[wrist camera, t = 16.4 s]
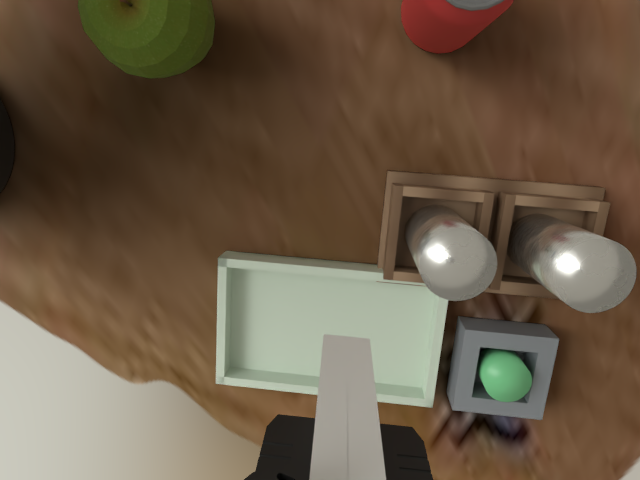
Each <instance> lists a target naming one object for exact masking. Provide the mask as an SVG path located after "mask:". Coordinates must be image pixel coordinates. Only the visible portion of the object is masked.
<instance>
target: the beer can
mask: <svg viewBox="0 0 640 480" xmlns="http://www.w3.org/2000/svg"><path fill="white" fill-rule="evenodd" d="M513 1H514V0H403V2H402V5H401V17H402V23H403V26H404V29H405V32H406V34H407V35H408V37H409V38H410V39H411V40H412V42H413V43H414V44H415V45H417V46H418V47H420V48H421V49H423V50H425V51H428V52H433V53H437V54H438V53H448V52H452V51H454V50H456V49H459V48H461V47H463V46H464V45H465V44H466V43H468V42H469V41H470V40H471V39H472V38H474V37H475V36H476V35H477V34H478V33H480V32H481V31H482V30H483V29H485V28H486V27H487V26H488V25H489V24H491V23H492V22H493V21H494V20H495V19H497V18H498V17H499V16H500V15H501V14H502V13H503V12H505V11H506V10H507V9H508V8H509V7H510V6H511V4H512V3H513Z"/></svg>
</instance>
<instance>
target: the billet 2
mask: <svg viewBox="0 0 640 480" xmlns="http://www.w3.org/2000/svg"><path fill="white" fill-rule="evenodd" d="M507 255H508V257H509V258H510V260H511V261H512V262H513V263H514V264H516V265H517V266H518V267H520V268H521V269H522V270H523V271H525V272H526V273H527V274H529V275H530V276H531V277H532V278H534V279H535V280H536V281H538V282H539V283H540V284H541V285H543V286H544V287H545V288H547V289H548V290H549V291H550V292H552V293H553V294H554V295H556V296H557V297H558V298H559V299H561V300H562V301H563V302H565V303H566V304H567V305H569V306H570V307H571V308H573V309H575V310H578V311H581V312H587V313H597V312H602V311H606V310H609V309H611V308H613V307H615V306H617V305H618V304H620V303H621V302H622V301H623V300H624V299H625V298H626V297H627V296H628V295H629V293H630V292H631V290H632V288H633V286H634V284H635V280H636V273H637V272H636V264H635V261H634V258H633V256H632V255H631V253H630V252H629V251H628V250H627V249H626V248H625V247H624V246H623V245H621V244H619V243H617V242H615V241H613V240H610V239H607V238H605V237H602V236H600V235H597V234H595V233H592V232H590V231H587V230H585V229H582V228H580V227H577V226H574V225H572V224H569V223H567V222H564V221H562V220H559V219H557V218H554V217H552V216H549V215H546V214H541V213H534V214H529V215H526V216H523V217H522V218H520V219H518V220H517V221H516V222H515V223H514V224H513V225H512V226H511V229H510V235H509V240H508V246H507Z"/></svg>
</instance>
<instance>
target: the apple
mask: <svg viewBox="0 0 640 480" xmlns="http://www.w3.org/2000/svg"><path fill="white" fill-rule="evenodd" d="M78 9H79V13H80V17H81V21H82V25H83V29H84V31H85V33H86V34H87V35H88V36H89V38H90V39H91V40H92V41H93V43H94V44H95V45H96V47H97V48H98V49H99V50H100V51H101V53H102V54H103V55H104V56H105V57H106V59H107V60H109V61H110V62H112V63H113V64H114V65H116V66H117V67H119V68H120V69H121V70H123V71H124V72H125V73H127V74H132V75H136V76H141V77H145V78H166V77H170V76H174V75H177V74H181V73H184V72H185V71H187V70H189V69H190V68H192V67H193V66H195V65H196V64H198V63H199V62H201V61H202V60H203V59H204V58H205V56H206V55H207V53H208V51H209V50H210V48H211V46H212V44H213V37H214V29H215V18H214V13H213V7H212V2H211V0H78Z"/></svg>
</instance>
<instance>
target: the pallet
mask: <svg viewBox="0 0 640 480" xmlns="http://www.w3.org/2000/svg"><path fill="white" fill-rule="evenodd" d="M605 189H606V188H602V187H597V186H584V185H571V184H559V183H546V182H533V181H520V180H507V179H494V178H481V177H469V176H456V175H443V174H430V173H417V172H404V171H391V170H387V176H386V186H385V195H384V205H383V214H382V224H381V233H380V243H379V252H378V262H377V267H378V268H380V269H383V279H384V280H395V281H406V282H416V283H424V281H423V280H422V277H421V275H420V273H419V270H418V268H417V266H416V264H415V261H414V259H413V257H412V254H411V252H410V250H409V248H408V245H407V243H406V240H405V227H406V224H407V221H408V220H409V218H410V216H411V215H412V214H413V213H414V212H415V211H417V210H418V209H420V208H422V207H424V206H427V205H433V204H437V205H443V206H446V207H448V208H450V209H451V210H453V211H454V212H455V213H456V214H458V215H459V216H460V217H461V218H462V219H464V220H465V221H466V222H467V223H469V224H470V225H471V226H472V227H473V228H475V229H476V230H477V231H478V232H480V233H481V234H482V235H483V236H484V237H486V238H487V239H488V240H489V241H490V243H491V244H492V246H493V248H494V250H495V252H496V256H497V270H496V274H495V276H494V279H493V280H492V282H491V284H490V285H489V286H488V287H487V288H486V289H485V290H484V291H483V292H489V293H500V294H510V295H521V296H532V297H542V298H553V299H559V298H558V297H557V296H556V295H554V294H553V293H552V292H550V291H549V290H548V289H547V288H545V287H544V286H543V285H541V284H540V283H539V282H538V281H536V280H535V279H534V278H532V277H531V276H530V275H529V274H527V273H526V272H525V271H523V270H522V269H521V268H520V267H518V266H517V265H516V264H514V263H513V262H512V261H511V260H510V258H509V257H508V255H507V246H508V240H509V235H510V229H511V226H512V225H513V224H514V223H515V222H516V221H517V220H518V219H520V218H522V217H523V216H526V215H529V214H534V213H541V214H546V215H549V216H552V217H554V218H557V219H559V220H562V221H564V222H567V223H569V224H572V225H574V226H577V227H580V228H582V229H585V230H587V231H590V232H592V233H595V234H597V235H600V236H602V237H603V234H604V229H605V225H606V220H607V216H608V212H609V207H610V202H606V201H603V198H604V193H605ZM376 282H380V281H376ZM383 283H390V282H383ZM393 284H401V283H393ZM404 285H412V284H404ZM415 286H422V285H415ZM425 287H427V286H425Z"/></svg>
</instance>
